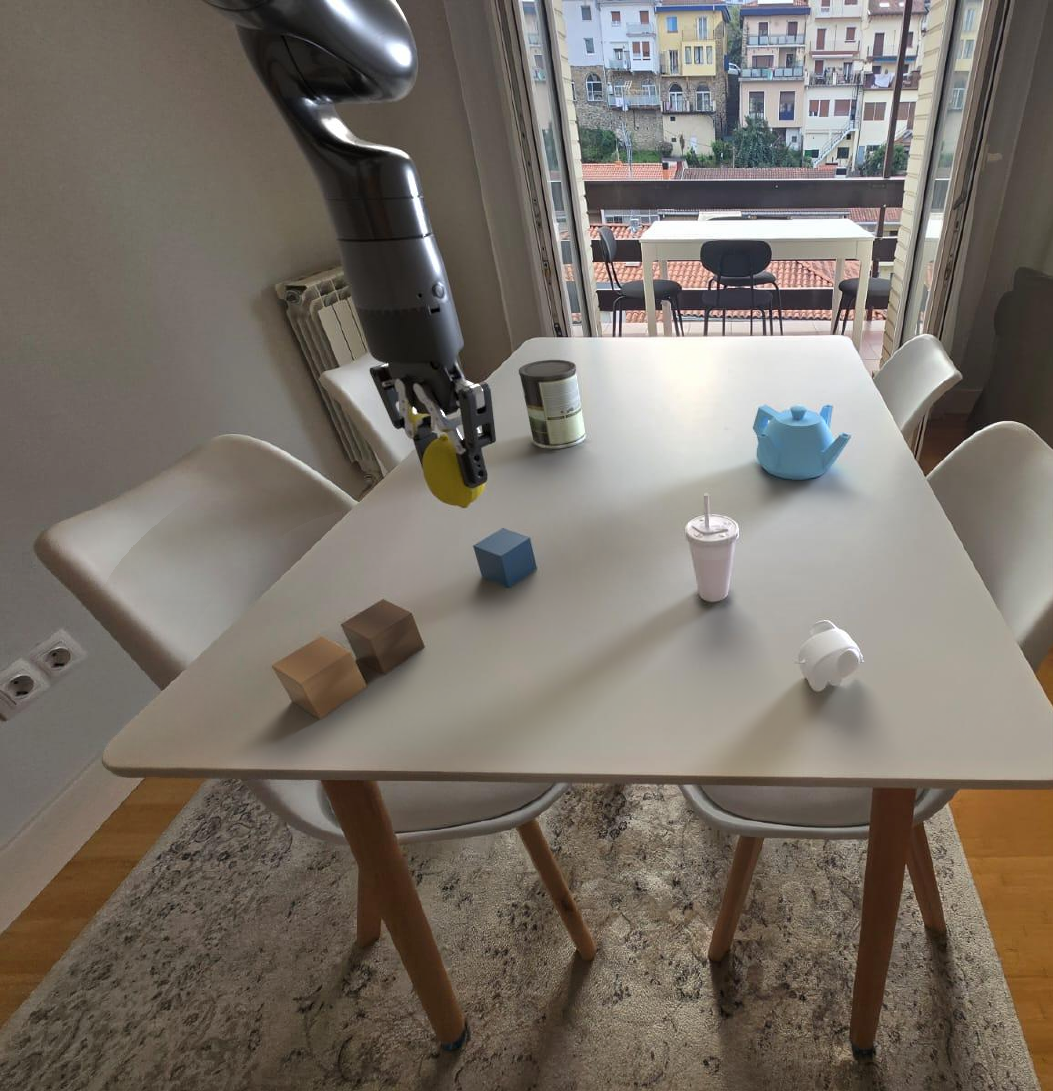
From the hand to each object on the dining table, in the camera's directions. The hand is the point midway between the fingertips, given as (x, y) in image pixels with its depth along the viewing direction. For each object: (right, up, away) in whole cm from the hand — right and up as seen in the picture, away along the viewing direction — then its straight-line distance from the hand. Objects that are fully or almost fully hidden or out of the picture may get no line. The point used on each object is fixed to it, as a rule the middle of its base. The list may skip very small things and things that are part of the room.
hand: (455, 476), depth 59 cm
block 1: (-14, -22, +3) cm, 26 cm away
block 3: (-2, -11, +20) cm, 23 cm away
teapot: (+39, +7, +47) cm, 62 cm away
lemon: (0, -3, +2) cm, 4 cm away
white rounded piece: (+37, -21, +4) cm, 43 cm away
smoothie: (+25, -13, +17) cm, 33 cm away
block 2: (-11, -19, +8) cm, 23 cm away
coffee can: (-6, +14, +59) cm, 61 cm away
